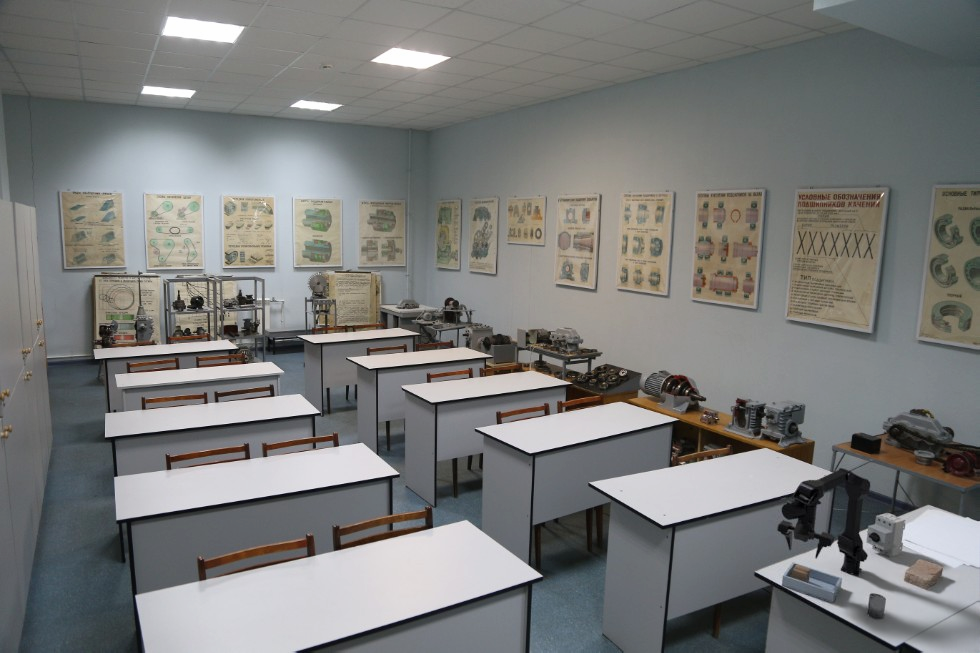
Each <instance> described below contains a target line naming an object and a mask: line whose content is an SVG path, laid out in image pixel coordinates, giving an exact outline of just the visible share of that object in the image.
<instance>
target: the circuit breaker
mask: <svg viewBox="0 0 980 653" xmlns="http://www.w3.org/2000/svg"><path fill="white" fill-rule="evenodd" d="M905 522H906V519H904V518H902V517H900V516H896V515H895V514H891V513H889V512H885V513H883V514H881V513H880V514H878V515H876V516H875V523H874V524H870V525H868V526H867V532H866V533H867V536H866V543H867V544H869V545H871V546H872V547H871V549H873V550H874V551H876V552H878V553H881V554H882V555H885V556H886V557H890V558H891V557H893V556H898V555H900V554H902V553H903V552H902V550H903V548H904V547H903V546H904V543H903V536H904V530H906V523H905Z"/></svg>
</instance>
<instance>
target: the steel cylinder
mask: <svg viewBox="0 0 980 653" xmlns="http://www.w3.org/2000/svg"><path fill="white" fill-rule="evenodd" d="M868 596H869V597H868V604H867V611H866V614H867V616H868V615H869V617H870V618H871V619H873V620H879V621H882V620H884V619H885V618H884V617H885V611H886V610H885V609H886V604H887V603H886V602H887V599H886V597H885V596H884V595H881V594H879V593H875V592H874V593H873V592H871V593H870V594H869V595H868Z"/></svg>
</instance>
